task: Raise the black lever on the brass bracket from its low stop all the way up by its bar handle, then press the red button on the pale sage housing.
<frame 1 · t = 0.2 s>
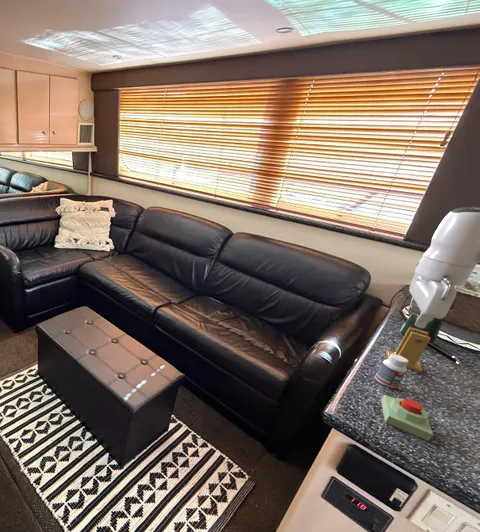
hand: (415, 319, 84), 23 cm above the counter, tool pointing down, fingers open, 8 cm apart
pill bottle: (385, 382, 96), on the counter
coffee jar: (415, 337, 124), on the counter
button: (411, 406, 80), point 4 cm above the counter, slide at 0.1 cm
bracket: (402, 362, 107), on the counter
button box: (403, 419, 82), on the counter
lever: (434, 348, 101), point 8 cm above the counter, hinge at -20.0°
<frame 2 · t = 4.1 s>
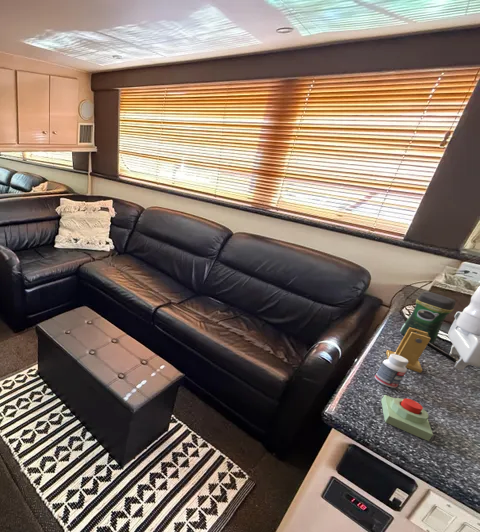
hand: (454, 363, 99), 5 cm above the counter, tool pointing down, fingers closed on lever, 5 cm apart
lever: (434, 348, 101), point 8 cm above the counter, hinge at -20.0°, touching gripper
everything else where it was.
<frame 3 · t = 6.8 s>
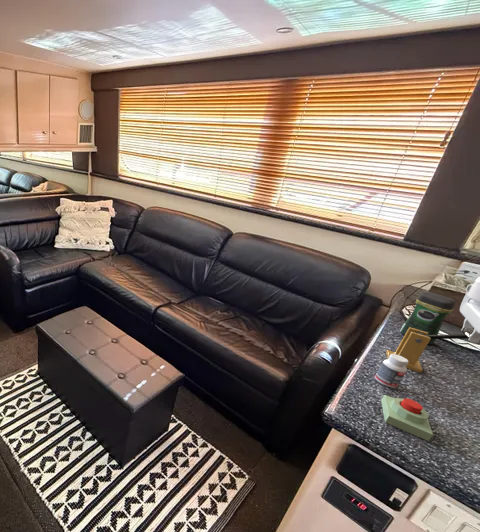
hand: (468, 337, 96), 15 cm above the counter, tool pointing down, fingers closed on lever, 5 cm apart
lever: (440, 336, 100), point 12 cm above the counter, hinge at 28.2°, touching gripper
everything else where it was.
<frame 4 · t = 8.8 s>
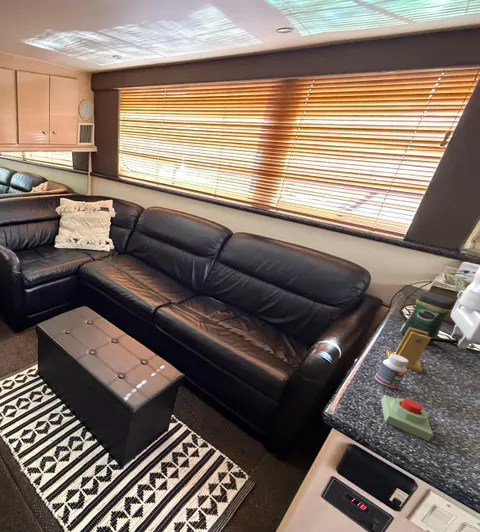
hand: (457, 342, 97), 12 cm above the counter, tool pointing down, fingers open, 5 cm apart
lever: (440, 339, 100), point 11 cm above the counter, hinge at 16.6°
everything else where it was.
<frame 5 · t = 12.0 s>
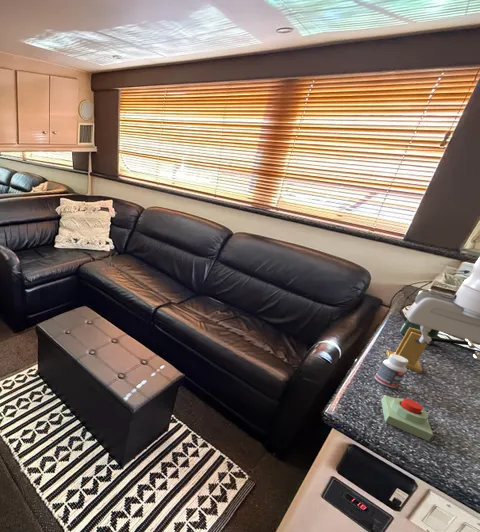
hand: (449, 351, 78), 19 cm above the counter, tool pointing down, fingers open, 8 cm apart
nothing on the counter moved.
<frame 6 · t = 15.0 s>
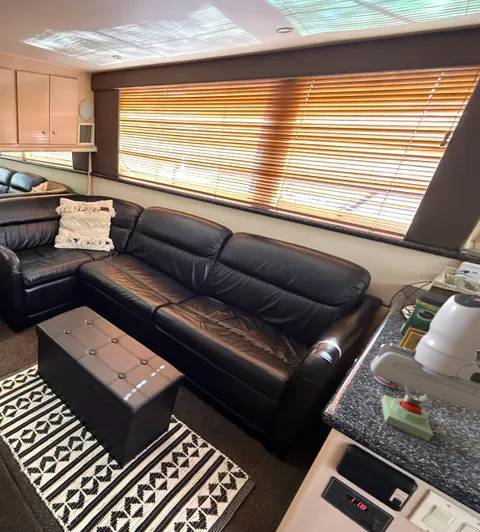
hand: (411, 403, 80), 5 cm above the counter, tool pointing down, fingers closed, pressing on button
button: (411, 406, 80), point 4 cm above the counter, slide at -0.1 cm, touching gripper
everything else where it was.
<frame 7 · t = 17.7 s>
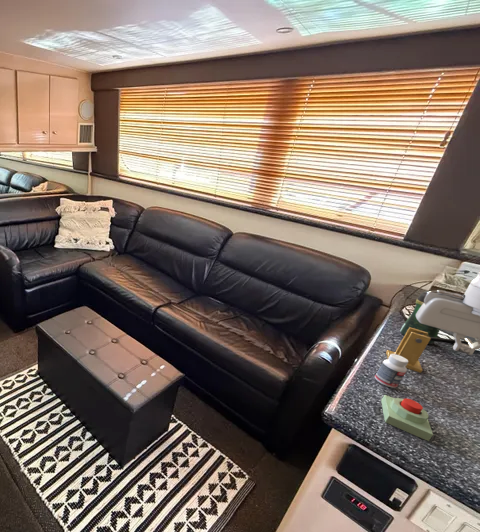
hand: (461, 351, 78), 19 cm above the counter, tool pointing down, fingers closed
button: (411, 406, 80), point 4 cm above the counter, slide at 0.1 cm
everything else where it was.
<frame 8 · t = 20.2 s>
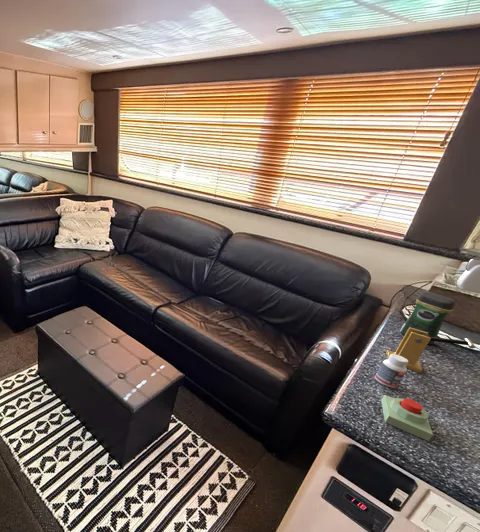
nothing on the counter moved.
at the end: lever at +17° (first picture: -20°); button pushed in 1.0 cm at the most during the clip, back to where it started at the end; button slide at 0.1 cm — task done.
